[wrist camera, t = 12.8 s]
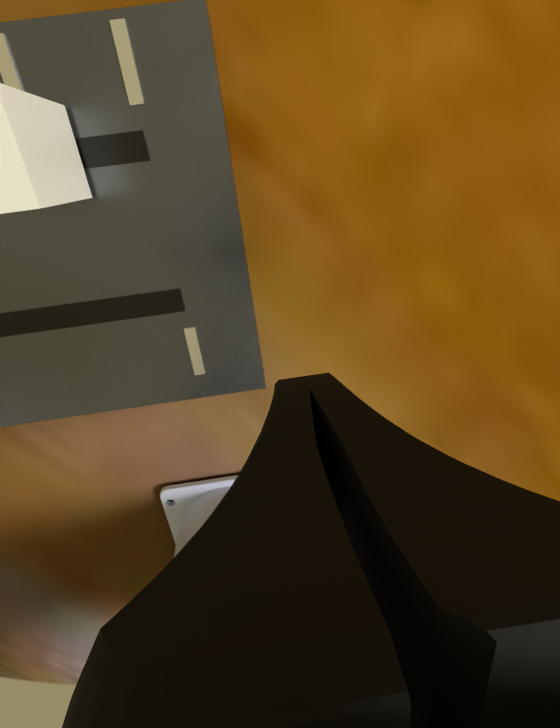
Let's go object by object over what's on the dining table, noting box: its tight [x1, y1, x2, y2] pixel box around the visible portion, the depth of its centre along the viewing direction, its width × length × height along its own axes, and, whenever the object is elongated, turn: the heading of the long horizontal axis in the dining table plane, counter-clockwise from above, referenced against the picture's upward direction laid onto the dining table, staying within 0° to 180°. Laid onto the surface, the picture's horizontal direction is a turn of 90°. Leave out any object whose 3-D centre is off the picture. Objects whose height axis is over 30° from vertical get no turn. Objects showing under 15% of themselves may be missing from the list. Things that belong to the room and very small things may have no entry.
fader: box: [0, 83, 92, 214], centre depth 13 cm, size 3×2×4 cm
